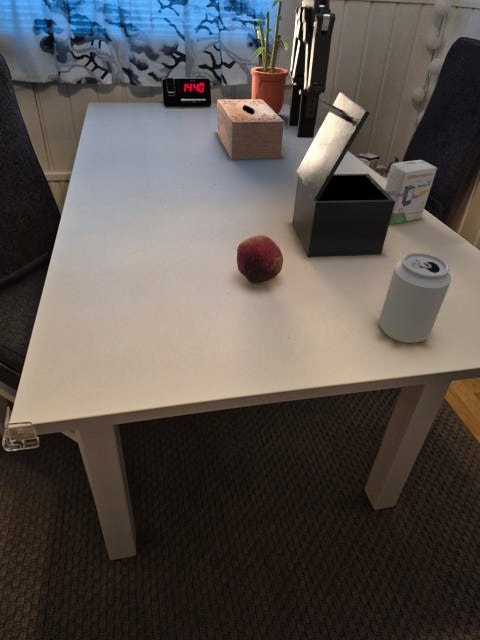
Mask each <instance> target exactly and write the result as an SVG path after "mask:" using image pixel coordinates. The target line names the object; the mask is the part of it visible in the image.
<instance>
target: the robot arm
mask: <svg viewBox="0 0 480 640" xmlns="http://www.w3.org/2000/svg"><path fill="white" fill-rule="evenodd" d="M330 1H331V0H302V2H301V6H296V8H295V23H294V33H293V43H292V51H291V53H292V54H291V61H290V69H289V77H291V83H292V84H291V92H290V93H291V94H290V101H289V102H290V103H289V112H288V123H287V126H288V127H297V130H296V138H298V139H300V138H301V139H315V132H316V131H315V130H316V124H317V116H318V108H319V106H318V102H319V98H320V95H321V94H325V92H326V88H327V87H326V86H327V80H328V79H327V77H328V69H329V63H330V62H329V61H330V53H331V47H332V45H331V44H332V36H333V31H334V26H335V22H336V19H337V17H336V14H335V13H332V9H331V8H330ZM303 88H304V90H302V89H303Z"/></svg>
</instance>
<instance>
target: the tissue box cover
mask: <svg viewBox="0 0 480 640" xmlns="http://www.w3.org/2000/svg"><path fill="white" fill-rule="evenodd" d="M284 127H285V121H284V119H283V118H281V117H280V116H279V114H276V113H275V112H274V111H273V110H272V109H271V108H270V107H269V106H268V105H267V104H266V103H265V102H264V101H263V100H262V99H252V98H251V99H250V98H249V99H247V98H246V99H245V98H244V99H239V98H238V99H235V98H234V99H232V98H231V99H216V134H217V136H218V138H219V140H220V141H221V143H222V145H223V147H224V148H225V151H226V153H227V155H228V156H229V159H230V160H232V161H235V160H237V161H238V160H265V159H267V160H268V159H281V158H282V149H283V136H284Z"/></svg>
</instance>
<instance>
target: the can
mask: <svg viewBox="0 0 480 640" xmlns="http://www.w3.org/2000/svg"><path fill="white" fill-rule="evenodd" d="M450 271H451V267H450V265H449V264H448V262H447V261H446V260H444V259H443V258H441V257H439V256H437V255H435V254H433V253H432V254H431V253H428V252H422V251H418V252H417V251H415V252H414V251H413V252H409V253H407V254H405V255H403V256H402V259H401V260H400V261H398V262H397V263H396V264H395V265H394V269H393V272H392V275H391V278H390V282H389V285H388V289H387V292H386V296H385V299H384V302H383V306H382V309H381V313H380V317H379V321H378V323H379V326H380V328H381V329H382V331H383V332H384V334H386V335H387V336H388V337H389V338H391V339H392V340H394V341H397V342H400V343H404V344H414V343H418V342H423V341H425V340H427V339H428V338H429V337H430V335H431V333H432V331H433V328H434V325H435V323H436V320H437V318H438V315H439V313H440V310H441V308H442V305H443V303H444V300H445V297H446V295H447V292H448V290H449V287H450V285H451V283H452V276H451V274H450Z"/></svg>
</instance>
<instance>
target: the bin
mask: <svg viewBox="0 0 480 640" xmlns="http://www.w3.org/2000/svg"><path fill="white" fill-rule="evenodd" d="M294 197H295V198H294V205H293V215H292V222H291V223H292V224H291V225H292V227H293V230H294V232H295V233H296V235H297V238H298V240H299V242H300V244H301V246H302V248H303V250H304V252H305V255H306V256H307V258H312V257H313V258H316V257H345V256H346V257H347V256H351V257H352V256H379V255H382V253H383V251H384V250H383V249H384V246H385V242H386V237H387V234H388V231H389V227H390V220H391V216H392V212H393V208H394V205H395V201H394V200H393V199H392V198H391V197H390V196H389V195H388V193H387V192H386V191H385V188H384V187H382V186H381V185H380V184H379V183H378V182H377V181H376V180H375V178H373V177H372V176H371V174H370V173H334V175H333V176H332V178H331V180H330V181H329V183H328V185H327V187H326V188H325V190H324V192H323V193H322V195H321V197H320V198H319V200H318V201H317V200H314V198H313V196H312V195H311V193H310V192H309V190H308V188H307V187H306V185H305V184H304V182H303V180H302V179H301V177H300V176H299V174H297V179H296V189H295V196H294Z"/></svg>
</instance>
